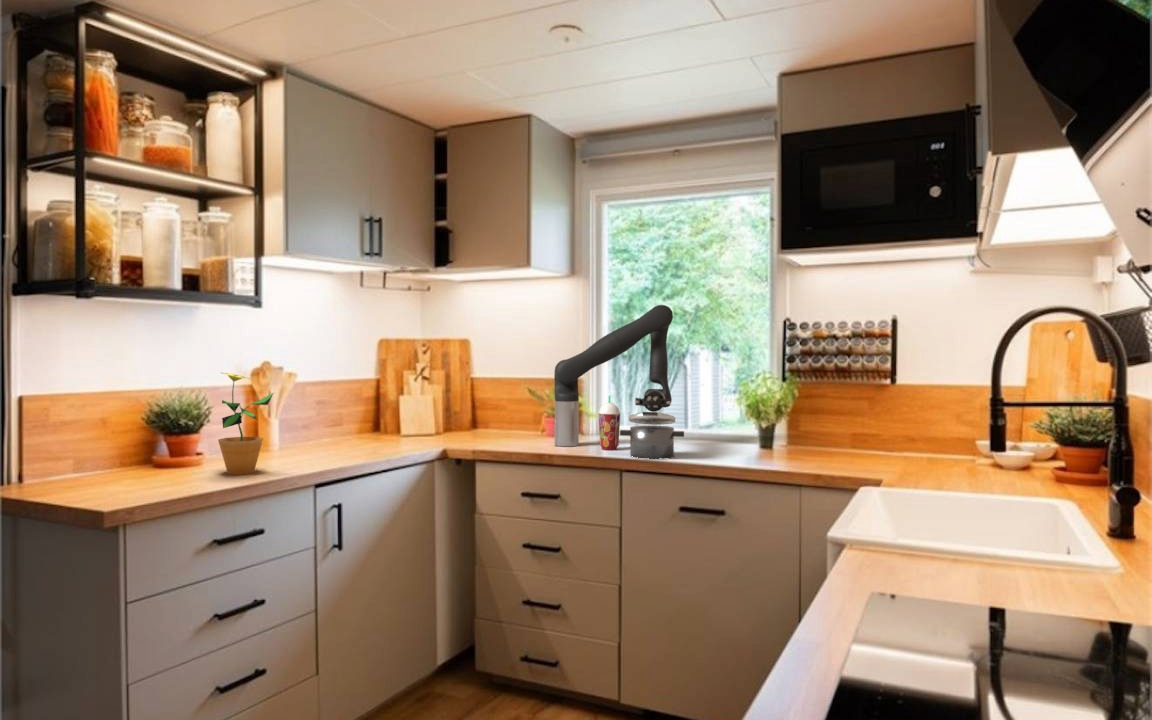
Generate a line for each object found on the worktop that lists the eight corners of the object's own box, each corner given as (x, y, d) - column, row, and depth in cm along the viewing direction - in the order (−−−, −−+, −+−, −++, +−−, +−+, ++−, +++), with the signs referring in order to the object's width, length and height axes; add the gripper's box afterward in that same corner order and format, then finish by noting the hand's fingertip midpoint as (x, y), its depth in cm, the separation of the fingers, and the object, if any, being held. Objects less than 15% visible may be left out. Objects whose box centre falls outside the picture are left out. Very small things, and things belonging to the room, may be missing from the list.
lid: (631, 424, 277) (631, 418, 277) (676, 425, 274) (676, 419, 274) (625, 415, 259) (626, 409, 259) (673, 416, 256) (673, 410, 256)
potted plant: (248, 478, 218) (248, 373, 218) (193, 475, 223) (193, 372, 223) (287, 469, 235) (287, 371, 235) (236, 466, 241) (236, 370, 240)
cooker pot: (623, 452, 278) (623, 424, 278) (684, 453, 275) (684, 425, 274) (617, 458, 262) (617, 429, 262) (683, 460, 258) (683, 430, 258)
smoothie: (625, 449, 287) (625, 395, 286) (610, 451, 280) (610, 396, 280) (608, 447, 292) (608, 394, 292) (593, 449, 286) (593, 395, 286)
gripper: (636, 389, 282) (631, 392, 265) (672, 390, 279) (670, 393, 262) (636, 410, 282) (631, 413, 265) (672, 411, 279) (670, 415, 262)
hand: (650, 403), depth 264 cm, fingers closed
